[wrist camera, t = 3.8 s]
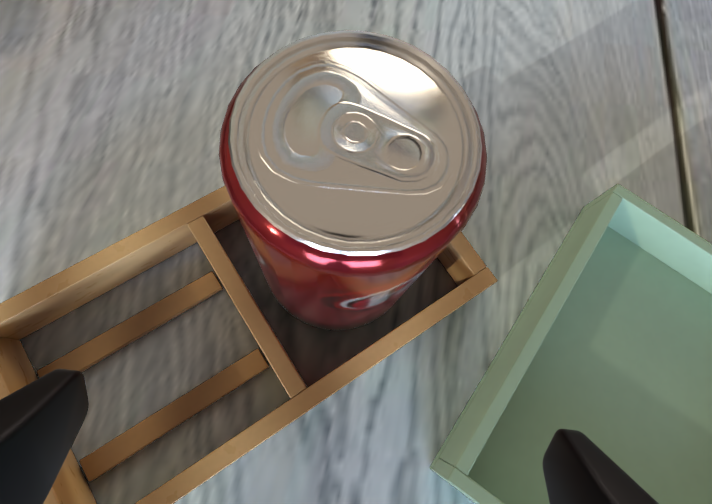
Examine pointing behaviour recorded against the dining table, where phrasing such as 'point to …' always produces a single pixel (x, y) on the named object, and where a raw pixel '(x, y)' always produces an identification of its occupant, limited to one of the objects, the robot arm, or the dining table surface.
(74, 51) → the dining table surface
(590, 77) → the dining table surface
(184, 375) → the dining table surface
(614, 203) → the wash tray
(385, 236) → the soda can
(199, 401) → the cup rack
